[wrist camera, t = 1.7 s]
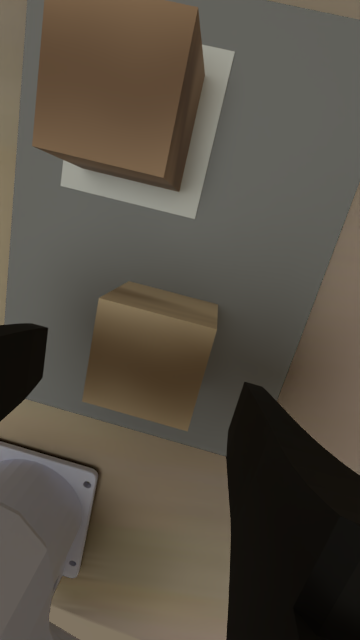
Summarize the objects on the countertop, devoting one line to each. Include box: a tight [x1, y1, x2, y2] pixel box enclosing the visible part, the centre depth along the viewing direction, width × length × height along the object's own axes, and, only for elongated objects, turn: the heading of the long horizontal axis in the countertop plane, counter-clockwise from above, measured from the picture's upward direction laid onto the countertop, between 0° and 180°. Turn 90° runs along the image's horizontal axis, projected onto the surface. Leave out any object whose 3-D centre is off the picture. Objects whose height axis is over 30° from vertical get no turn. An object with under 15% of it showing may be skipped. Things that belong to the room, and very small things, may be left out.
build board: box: [4, 0, 360, 456], centre depth 15 cm, size 20×15×1 cm
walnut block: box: [32, 0, 205, 192], centre depth 11 cm, size 4×4×4 cm
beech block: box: [82, 281, 218, 432], centre depth 14 cm, size 4×4×4 cm
